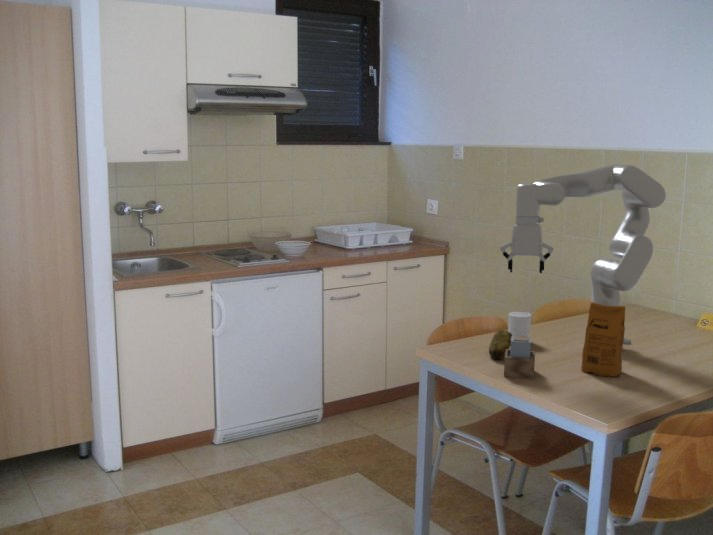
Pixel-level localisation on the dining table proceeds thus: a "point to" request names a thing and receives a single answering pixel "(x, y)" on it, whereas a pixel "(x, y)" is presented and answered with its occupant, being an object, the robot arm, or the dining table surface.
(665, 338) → the dining table surface
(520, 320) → the white cup
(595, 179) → the robot arm
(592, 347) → the coffee package
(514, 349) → the cap block
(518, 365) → the box base
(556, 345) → the dining table surface
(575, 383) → the dining table surface
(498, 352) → the potato
